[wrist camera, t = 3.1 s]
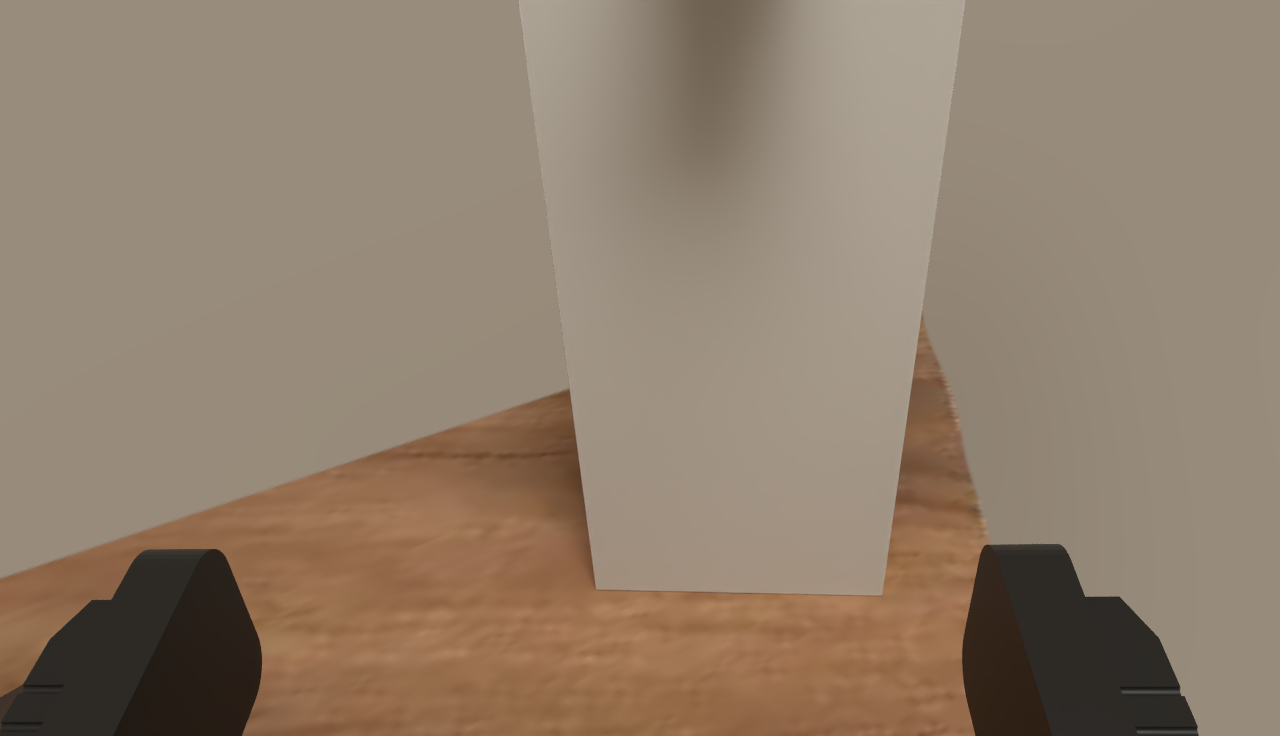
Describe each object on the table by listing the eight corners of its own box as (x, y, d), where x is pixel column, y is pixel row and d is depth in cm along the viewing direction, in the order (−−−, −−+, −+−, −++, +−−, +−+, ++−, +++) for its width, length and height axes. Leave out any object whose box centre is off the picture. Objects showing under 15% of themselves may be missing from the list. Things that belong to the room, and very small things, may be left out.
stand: (882, 595, 48) (1067, -726, 21) (596, 589, 50) (430, -670, 23) (861, 428, 57) (975, -674, 30) (617, 426, 58) (514, -635, 31)
